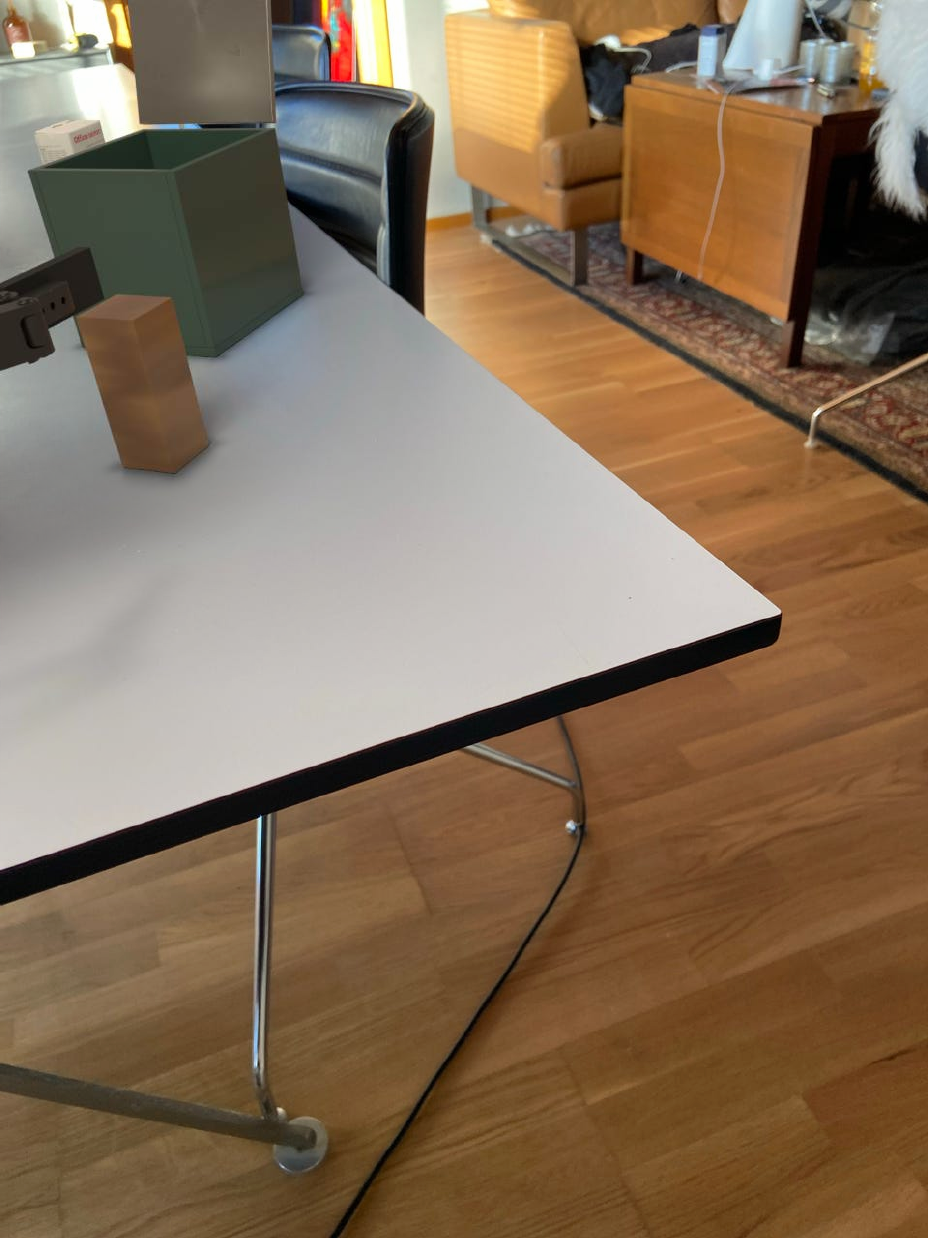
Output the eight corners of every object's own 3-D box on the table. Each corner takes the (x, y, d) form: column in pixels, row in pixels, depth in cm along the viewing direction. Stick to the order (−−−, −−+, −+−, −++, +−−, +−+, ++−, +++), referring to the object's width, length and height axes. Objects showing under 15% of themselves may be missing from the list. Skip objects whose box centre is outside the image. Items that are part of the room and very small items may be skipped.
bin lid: (261, -110, 83) (265, -108, 83) (118, -96, 87) (123, -94, 88) (272, 122, 89) (276, 123, 90) (139, 123, 94) (143, 124, 95)
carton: (122, 467, 71) (75, 316, 64) (158, 439, 74) (117, 293, 67) (175, 473, 69) (132, 320, 63) (209, 445, 72) (172, 296, 66)
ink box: (96, 232, 125) (67, 131, 118) (61, 233, 125) (30, 132, 118) (126, 214, 131) (101, 116, 124) (93, 215, 132) (65, 118, 125)
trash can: (216, 357, 87) (173, 171, 78) (82, 346, 91) (26, 170, 82) (303, 294, 99) (275, 127, 90) (181, 287, 104) (142, 128, 95)
